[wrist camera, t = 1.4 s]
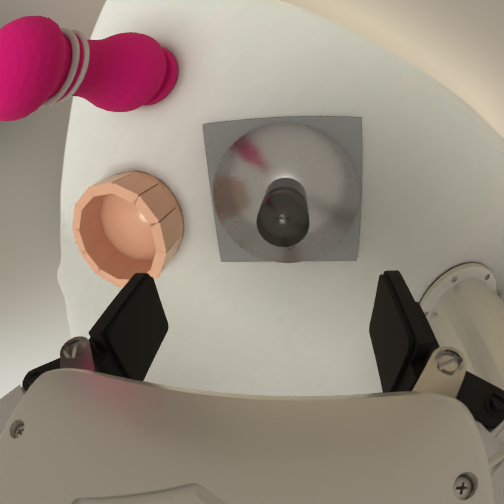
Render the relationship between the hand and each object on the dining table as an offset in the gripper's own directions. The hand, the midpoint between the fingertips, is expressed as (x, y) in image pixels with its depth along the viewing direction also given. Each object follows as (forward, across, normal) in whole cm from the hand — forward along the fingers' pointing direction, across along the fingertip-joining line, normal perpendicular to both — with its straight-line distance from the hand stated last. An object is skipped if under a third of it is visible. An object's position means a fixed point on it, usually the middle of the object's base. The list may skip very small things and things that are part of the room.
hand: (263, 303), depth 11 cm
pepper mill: (+17, +12, -13) cm, 24 cm away
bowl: (+17, +16, +2) cm, 23 cm away
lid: (+16, 0, 0) cm, 16 cm away
